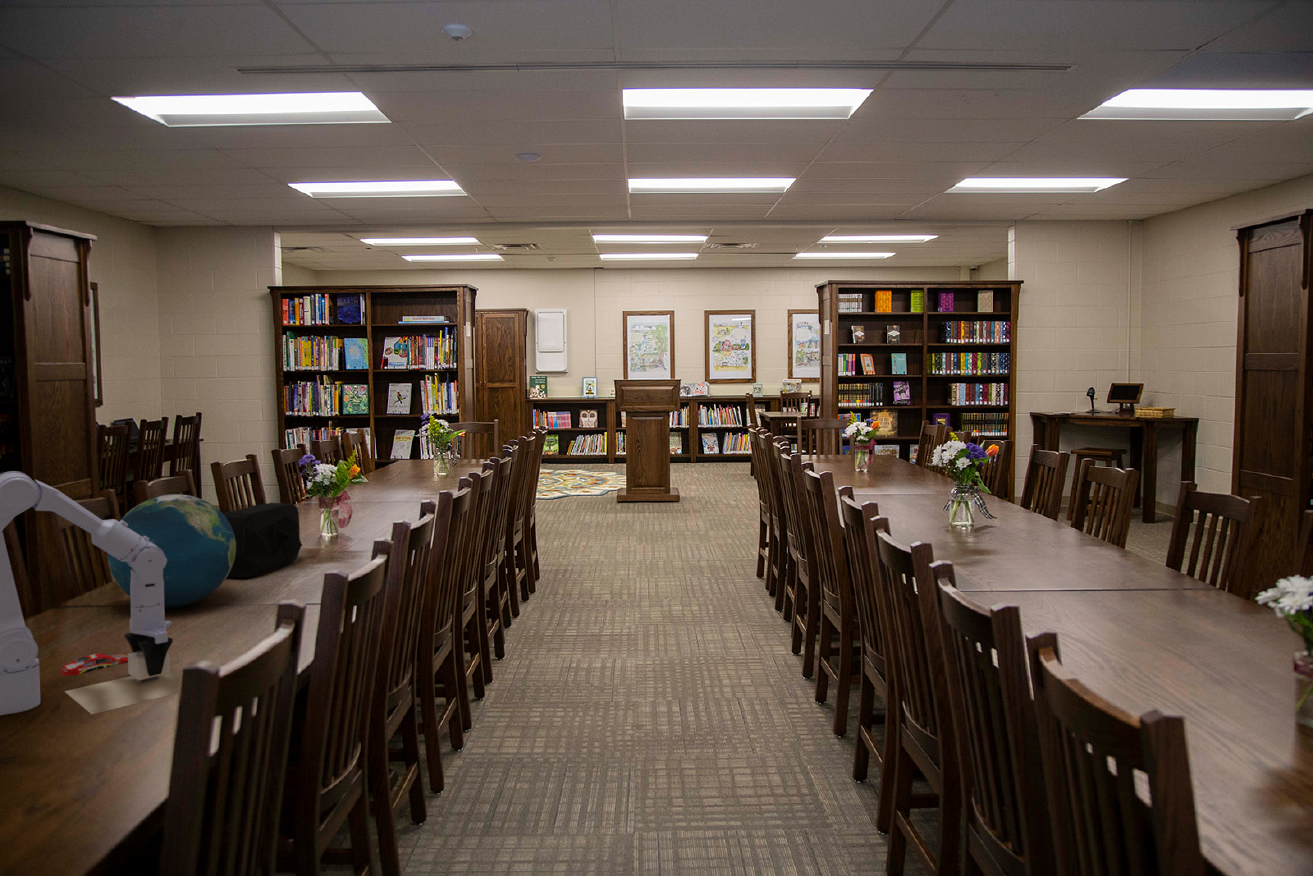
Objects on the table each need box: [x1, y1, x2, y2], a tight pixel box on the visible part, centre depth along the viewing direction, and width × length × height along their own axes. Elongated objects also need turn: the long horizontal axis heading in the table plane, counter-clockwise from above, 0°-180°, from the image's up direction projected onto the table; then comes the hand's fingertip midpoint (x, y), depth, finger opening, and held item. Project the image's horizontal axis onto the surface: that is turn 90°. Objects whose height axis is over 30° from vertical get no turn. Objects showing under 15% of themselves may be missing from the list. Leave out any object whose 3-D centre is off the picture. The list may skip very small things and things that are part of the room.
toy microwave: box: [127, 651, 171, 680], centre depth 168 cm, size 6×6×4 cm
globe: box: [107, 493, 236, 609], centre depth 225 cm, size 30×30×30 cm
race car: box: [60, 653, 128, 677], centre depth 176 cm, size 13×5×4 cm, turn 143°
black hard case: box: [222, 502, 303, 579], centre depth 267 cm, size 30×12×20 cm, turn 171°
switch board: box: [64, 669, 182, 715], centre depth 163 cm, size 18×16×5 cm
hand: (149, 670), depth 168 cm, fingers closed on toy microwave, 6 cm apart
